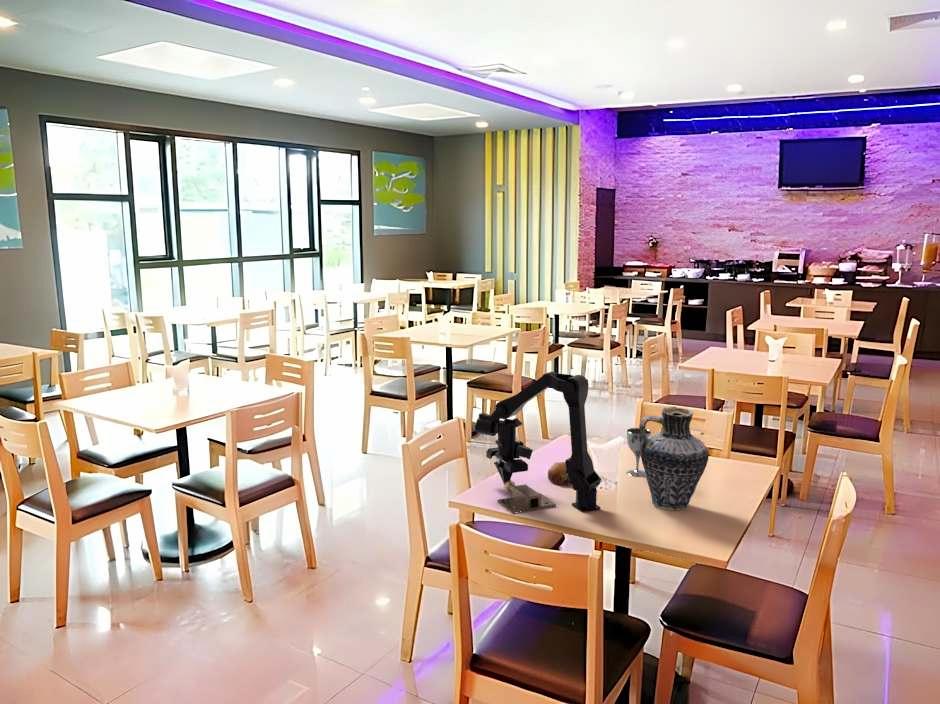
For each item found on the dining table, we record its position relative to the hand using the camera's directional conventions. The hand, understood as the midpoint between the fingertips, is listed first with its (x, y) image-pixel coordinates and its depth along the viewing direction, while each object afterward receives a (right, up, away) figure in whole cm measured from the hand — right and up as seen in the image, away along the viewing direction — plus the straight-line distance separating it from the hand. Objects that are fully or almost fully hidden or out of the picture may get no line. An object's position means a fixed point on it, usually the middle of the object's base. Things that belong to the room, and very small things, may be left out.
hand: (506, 485), depth 243 cm
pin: (+3, -3, -8) cm, 9 cm away
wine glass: (+46, +1, +17) cm, 49 cm away
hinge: (+6, -4, -13) cm, 14 cm away
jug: (+49, -4, -13) cm, 51 cm away
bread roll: (+19, 0, +9) cm, 21 cm away
